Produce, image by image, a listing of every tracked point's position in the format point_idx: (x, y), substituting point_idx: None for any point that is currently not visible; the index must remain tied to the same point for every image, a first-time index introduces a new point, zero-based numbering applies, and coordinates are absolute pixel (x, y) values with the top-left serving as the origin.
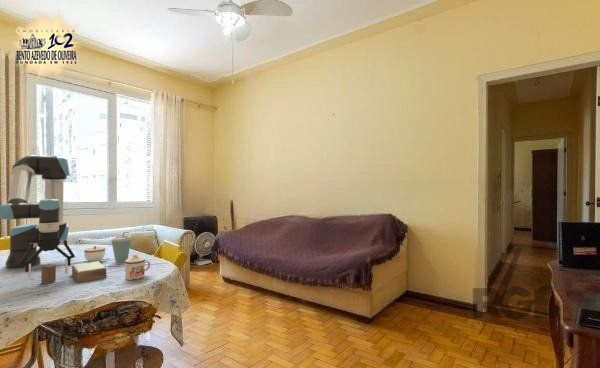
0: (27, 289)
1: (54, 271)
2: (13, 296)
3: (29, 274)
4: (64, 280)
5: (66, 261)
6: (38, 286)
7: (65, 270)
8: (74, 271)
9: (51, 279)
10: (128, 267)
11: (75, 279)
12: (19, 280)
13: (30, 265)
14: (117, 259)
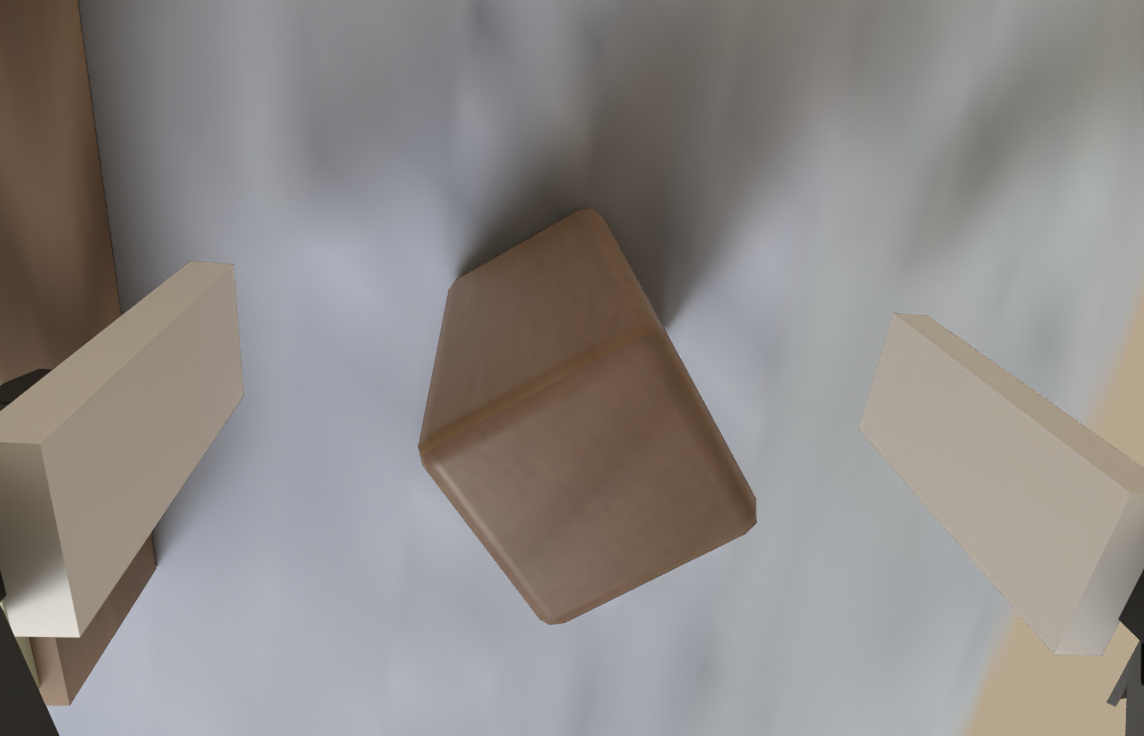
0: (944, 30)
1: (462, 344)
2: None
3: (974, 353)
4: (301, 209)
5: (46, 409)
6: (756, 109)
7: (213, 333)
8: (26, 298)
9: (526, 251)
10: None
11: (83, 72)
12: (832, 702)
13: (1126, 479)
14: None
